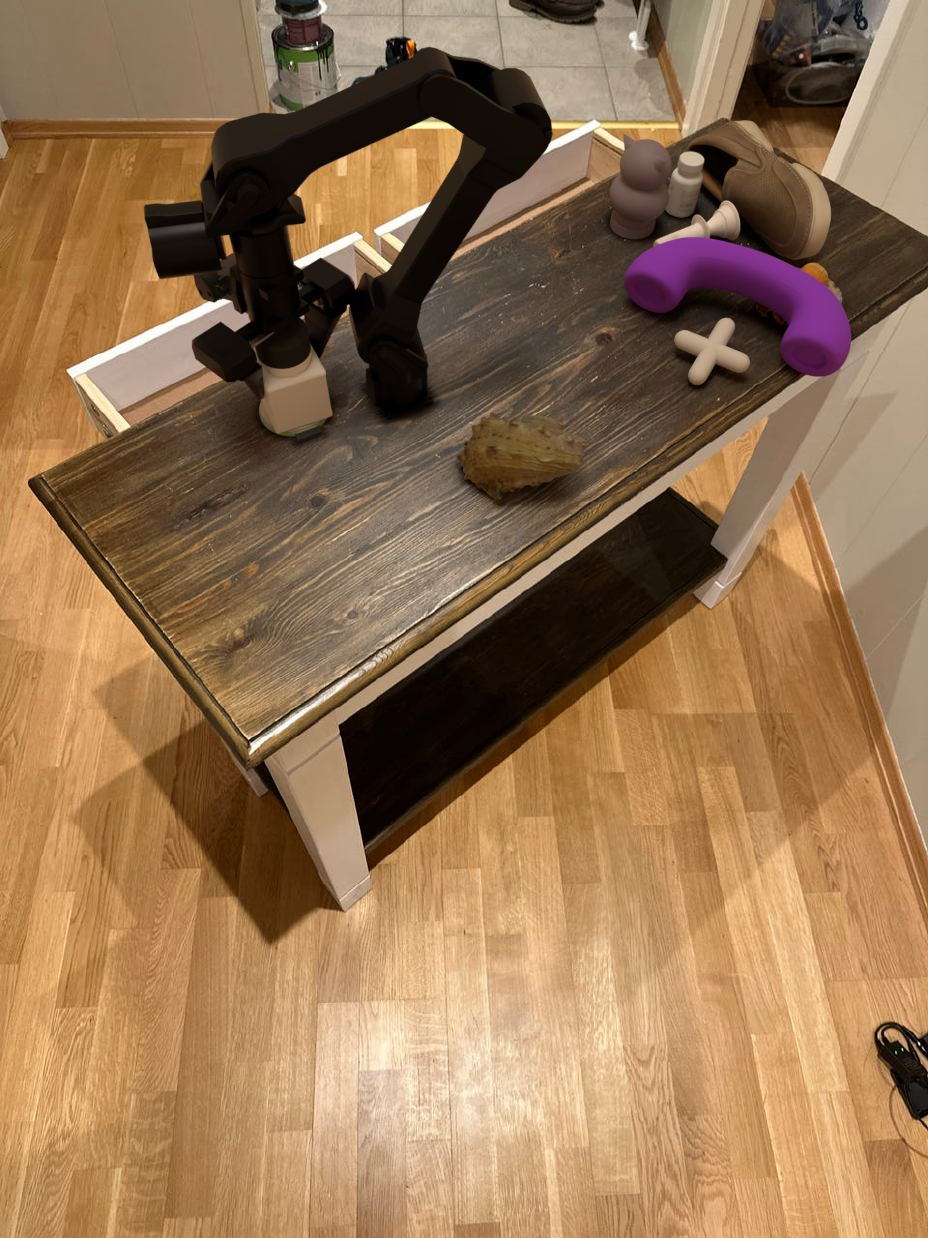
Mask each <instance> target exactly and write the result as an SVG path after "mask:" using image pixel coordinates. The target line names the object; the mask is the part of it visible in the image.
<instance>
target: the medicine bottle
mask: <svg viewBox="0 0 928 1238" xmlns="http://www.w3.org/2000/svg"><path fill="white" fill-rule="evenodd" d="M253 349H254V351H255V352H256V356H257V363H259V364H260V365H262V369H263V381H264V398H263V399H262V400H261V399H259V400H260V403H261V402H262V404H263V406H264V408H265V410H266V412H267V414H268V416H269V418H270V421H271V423H272V425H273V427H274V429H275V431H276V432H277V433H278V434H277V435H279V433H282V432H285V431H289V430H292V429H295V428H298V427H301V426H304V425H307V424H310V423H313V422H316V421H319V420H322V419H325V418H327V419H328V418H331V417H333V415H334V412H333V406H332V399H331V393H330V387H329V381H328V374H327V371H326V369H325V368H324V365H323V364H322V362H321V360H320V359H319V358H318V356H317V354H316V353H315V351H314V349H313V347H312V345H311V343H310V339H309V334H308V328H307V325H306V323H305V320H304V319H302V317H300V318H299V319H297V320H296V321H294V322H293V323H291V324H290V325H288V326H287V327H285V328H284V329H282V330H281V331H279V332H278V333H276V334H273V335H272V336H270V337H269V338H267V339H266V340H264V341H263V342H261V343H260V344H258V345H257V346H255V347H254V348H253Z"/></svg>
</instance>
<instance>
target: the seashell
mask: <svg viewBox="0 0 928 1238" xmlns="http://www.w3.org/2000/svg"><path fill="white" fill-rule="evenodd" d="M564 427H565V426H564V424H563V423H561V422H560V421H557V420H555V419H554V418H551V417H549V416H544V415H535V414H534V415H533V414H532V415H528V413H524V414H522V415H521V417H520V418H518V417H516V416H514V417H510V418H509V419H508V420H504V419H502V417H500V416H499V415H498V414H497V413H495V412H493V411H491V412H490V413H489V416H482V417H481V418H480V422H479V423H478V424H473V425H471V427H470V429H471V431H472V434H471V436H470V438H469V440H468V441H465V442H464V447H463V448H464V450H462V454H458V455H456V458H455V459H456V460H457V461H459V462H460V466H461V467H462V468H463V469H462V472H463V473H464V477H463V479H464V480H465V481H467V480H468V481H469V480H470V481H471V483H473V484H475V486H476V488H477V489H482V490H483V491H485V493H486V495H488V496H490V497H492V498H493V499H494V501H500V500H502V498H503V497H504V495H505V493H507V492H510V493H515V491H516V490H517V489H523V488H524V487H525V486H530V487H531V488H533V487H538V486H539V485H540V484H544V483H549V482H552V481H553V480H554V479H556V478H559V477H562V476H566V475H569V474H570V475H571V474H573V473H574V472H575V471H576V470H577V469H578V467H580V466H582V465H584V457H585V455H586V453H585V448H586V447H587V446H590V444H589V441H587V440H586V439H585V438H583V437H581V436H577V435H576V434H573V433H571V432H570V431H567V430H565V429H564Z"/></svg>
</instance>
